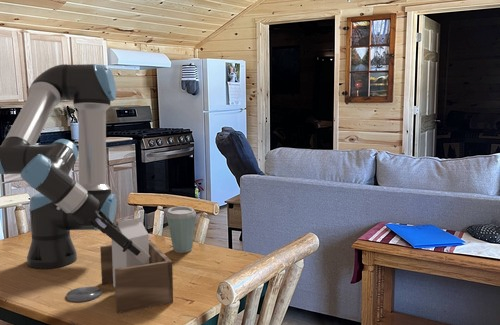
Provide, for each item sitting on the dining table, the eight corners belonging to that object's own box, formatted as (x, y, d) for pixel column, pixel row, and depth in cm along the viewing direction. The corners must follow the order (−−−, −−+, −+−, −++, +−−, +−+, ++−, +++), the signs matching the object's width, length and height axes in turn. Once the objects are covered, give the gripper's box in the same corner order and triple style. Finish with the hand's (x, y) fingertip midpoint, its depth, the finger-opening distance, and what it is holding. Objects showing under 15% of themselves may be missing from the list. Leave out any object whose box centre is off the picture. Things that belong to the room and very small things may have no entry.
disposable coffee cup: (202, 251, 167) (201, 210, 165) (173, 257, 161) (172, 213, 159) (189, 244, 176) (188, 204, 174) (161, 248, 170) (160, 207, 168)
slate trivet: (64, 292, 131) (64, 290, 131) (98, 286, 135) (98, 284, 135) (68, 304, 123) (68, 302, 123) (104, 298, 127) (104, 295, 127)
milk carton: (150, 286, 130) (148, 219, 128) (127, 294, 125) (125, 224, 123) (135, 280, 135) (133, 215, 133) (113, 287, 130) (110, 219, 127)
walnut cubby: (101, 282, 138) (100, 246, 136) (150, 274, 144) (149, 239, 143) (117, 313, 118) (115, 270, 116) (173, 302, 124) (172, 261, 123)
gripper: (63, 205, 130) (124, 253, 139) (73, 224, 111) (142, 278, 120) (83, 185, 132) (141, 233, 141) (95, 200, 112) (162, 255, 122)
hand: (142, 254), depth 130 cm, fingers closed on milk carton, 9 cm apart
